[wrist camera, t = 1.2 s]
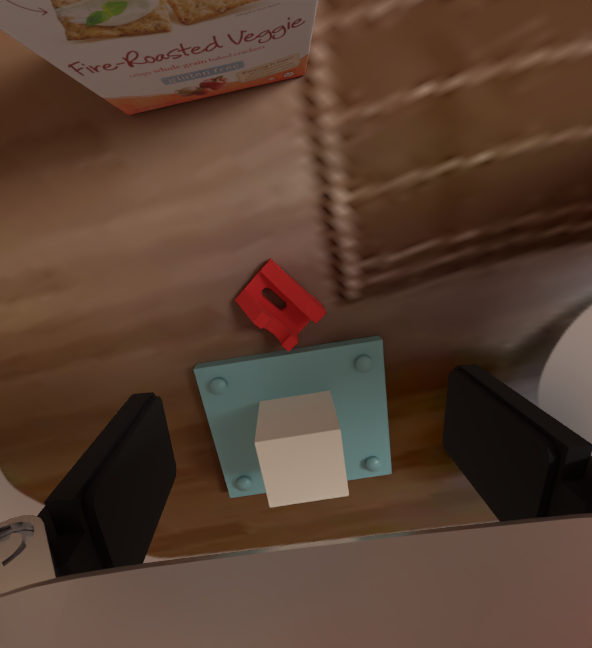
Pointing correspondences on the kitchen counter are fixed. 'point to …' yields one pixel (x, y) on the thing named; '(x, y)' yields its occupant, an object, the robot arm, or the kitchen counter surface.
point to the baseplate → (292, 380)
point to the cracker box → (165, 45)
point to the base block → (300, 449)
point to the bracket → (269, 315)
